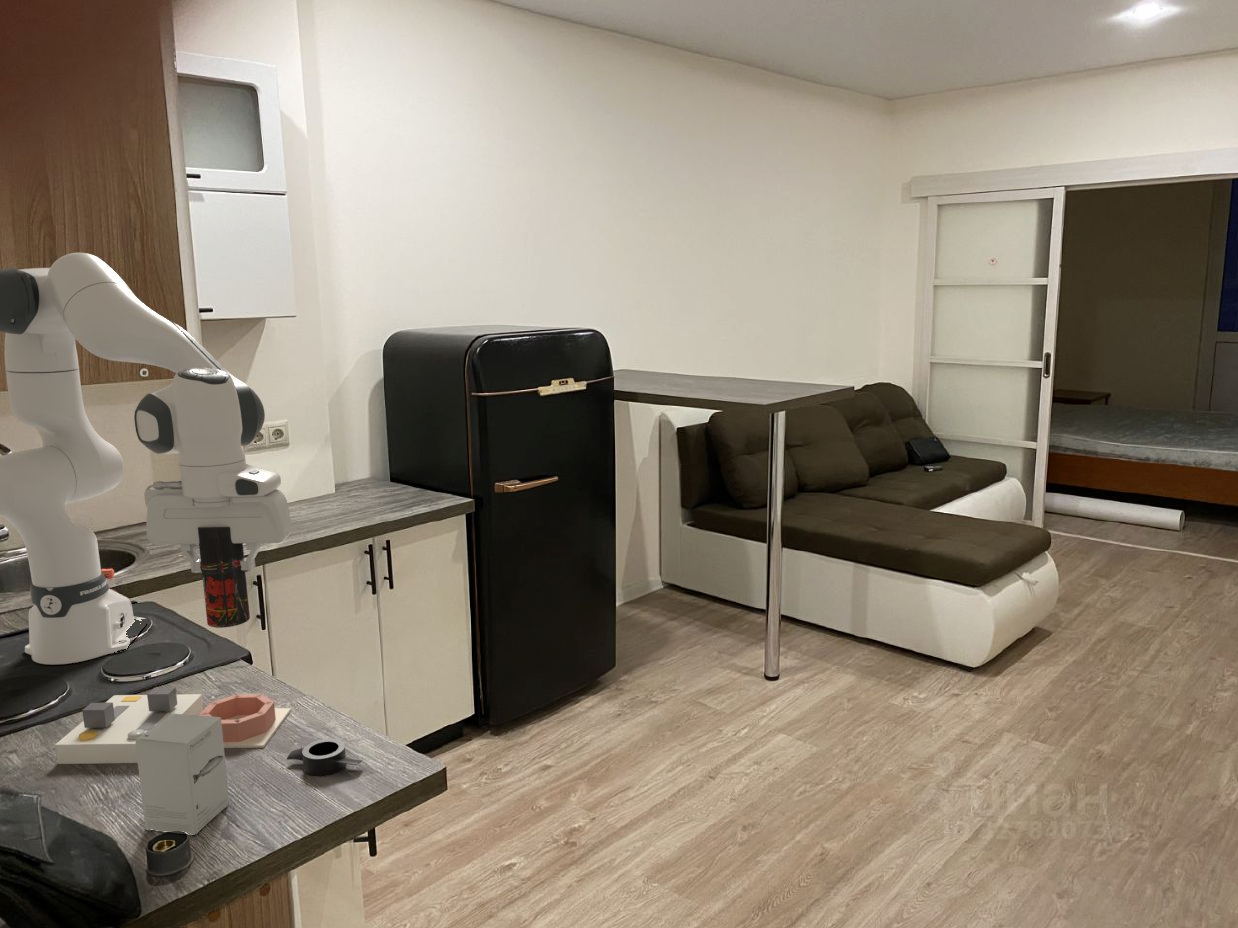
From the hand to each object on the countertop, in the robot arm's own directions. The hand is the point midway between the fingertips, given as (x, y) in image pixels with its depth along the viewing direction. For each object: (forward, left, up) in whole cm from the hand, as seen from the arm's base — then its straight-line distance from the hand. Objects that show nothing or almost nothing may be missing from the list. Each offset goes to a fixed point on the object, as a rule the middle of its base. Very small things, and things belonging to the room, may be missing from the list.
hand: (223, 571), depth 137 cm
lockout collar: (0, 0, -25) cm, 25 cm away
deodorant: (0, 0, -8) cm, 8 cm away
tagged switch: (+5, -19, -22) cm, 29 cm away
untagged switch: (0, -12, -22) cm, 25 cm away
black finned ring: (+11, +17, -26) cm, 33 cm away
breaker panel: (+2, -15, -25) cm, 30 cm away
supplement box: (+24, +3, -26) cm, 35 cm away
